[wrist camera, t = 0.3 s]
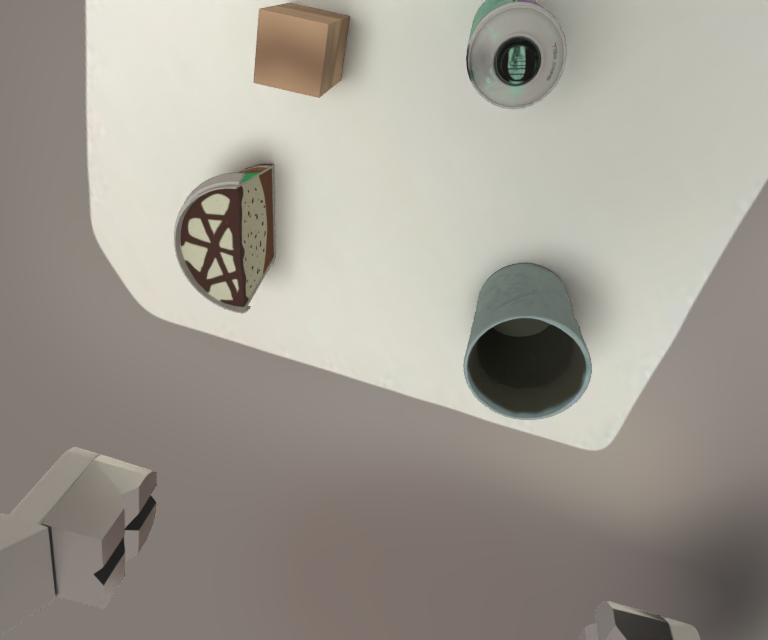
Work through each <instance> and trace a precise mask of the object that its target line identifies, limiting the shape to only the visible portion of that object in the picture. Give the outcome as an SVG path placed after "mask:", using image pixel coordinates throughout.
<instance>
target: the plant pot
mask: <svg viewBox="0 0 768 640" xmlns="http://www.w3.org/2000/svg"><path fill="white" fill-rule="evenodd" d="M591 373H592V364H591V358H590V355H589V352H588V349H587V347H586V344H585V341H584V339H583V337H582V334H581V331H580V327H579V325H578V324H577V321H576V319H575V318H574V316H573V309H572V305H571V301H570V299H569V296H568V293H567V291H566V288H565V286H564V284H563V283H562V281H561V280H560V279H559V278H558V277H557V276H556V275H555V274H554V273H552V272H551V271H549V270H548V269H546V268H544V267H541V266H538V265H534V264H528V263H522V264H514V265H510V266H507V267H505V268H502V269H500V270H499V271H497V272H496V273H494V274H493V275H492V276H491V277H490V278H489V279H488V280H487V281H486V282H485V284H484V285H483V287H482V289H481V291H480V294H479V297H478V302H477V307H476V312H475V315H474V322H473V325H472V328H471V335H470V338H469V342H468V346H467V350H466V354H465V358H464V374H465V378H466V382H467V384H468V387H469V388H470V390H471V391H472V393H473V395H474V396H475V397H476V398H477V399H478V400H479V401H480V402H481V403H482V404H484V405H485V406H487V407H488V408H489V409H491V410H492V411H494V412H496V413H498V414H501V415H503V416H506V417H510V418H514V419H521V420H536V419H543V418H547V417H551V416H554V415H556V414H559V413H561V412H563V411H565V410H566V409H568V408H569V407H571V406H572V405H573V404H574V403H576V402H577V401H578V400H579V399H580V398H581V396H582V395H583V393H584V392H585V390H586V389H587V387H588V384H589V382H590V378H591Z"/></svg>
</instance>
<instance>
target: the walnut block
mask: <svg viewBox="0 0 768 640" xmlns="http://www.w3.org/2000/svg"><path fill="white" fill-rule="evenodd" d="M349 19H350V16H347V15H342V14H338V13H333V12H329V11H324V10H320V9H315V8H311V7H306V6H302V5H298V4H293V3H286V4H281V5H276V6H271V7H266V8H261V9H259V18H258V31H257V44H256V57H255V70H254V83H257V84H261V85H266V86H270V87H274V88H279V89H283V90H288V91H292V92H296V93H301V94H305V95H309V96H314V97H318V98H319V97H321V96H322V95H323V94H324V93H326V92H327V91H328V90H329V89H331V88H332V87H333V86H334V85H336V84H337V83H338V82H339V81H341V75H342V68H343V61H344V54H345V47H346V40H347V33H348V26H349Z"/></svg>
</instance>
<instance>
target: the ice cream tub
mask: <svg viewBox="0 0 768 640" xmlns="http://www.w3.org/2000/svg"><path fill="white" fill-rule="evenodd" d="M174 247H175V252H176V257H177V260H178V262H179V265H180V267H181V269H182V271H183V273H184V275H185V276H186V278H187V279H188V281H189V282H190V284H191V285H192V286H193V287H194V288H195V289H196V290H197V291H198V292H199V293H200V294H201V295H202V296H204V297H205V298H206V299H208V300H209V301H211V302H212V303H214V304H215V305H218V306H220V307H222V308H224V309H226V310H229V311H232V312H236V313H241V314H243V313H245V312H247V311H248V310H249V309H250V306H248V304H249V303H250V301H251V299H252V297H253V296H254V294H255V292H256V290H257V289H258V287H259V285H260V283H261V282H262V280H263V278H264V277H265V275H266V273H267V271H268V270H269V268H270V266H271V264H272V263H273V261H274V259H275V257H276V245H275V193H274V164H260V165H257V166H253V167H249V168H246V169H245V170H243V171H241V172H239V173H230V174H223V175H219V176H216V177H213V178H210V179H209V180H207V181H205V182H203V183H201V184H200V185H199V186H198V187H196V188H195V189H194V190H193V191H192V192H191V194H190V195H189V196H188V197H187V199H186V201H185V202H184V204H183V206H182V208H181V210H180V212H179V214H178V217H177V220H176V223H175V230H174Z"/></svg>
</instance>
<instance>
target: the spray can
mask: <svg viewBox="0 0 768 640" xmlns="http://www.w3.org/2000/svg"><path fill="white" fill-rule="evenodd" d="M565 60H566V41H565V36H564V33H563V31H562V28H561V26H560V24H559V23H558V21H557V20H556V19H555V17H554V16H553V15H551V14H550V13H549V12H548V11H547V10H546V9H544V8H543V7H542V6H540V5H539V4H538V3H536V2H535V1H533V0H486V1H485V2H484V3H483V4H482V6H481V7H480V8H479V10H478V11H477V13H476V15H475V18H474V21H473V24H472V29H471V34H470V38H469V43H468V48H467V56H466V61H467V70H468V74H469V78H470V80H471V82H472V84H473V86H474V88H475V89H476V90H477V92H478V93H479V94H480V95H481V96H482V97H483V98H485V99H486V100H487V101H488V102H490V103H492V104H494V105H496V106H499V107H502V108H509V109H517V108H524V107H527V106H530V105H533V104H535V103H536V102H538V101H540V100H542V99H543V98H544V97H545V96H547V95H548V94H549V93H550V92H551V90H552V89H553V88H554V87H555V86H556V84H557V82H558V81H559V79H560V77H561V75H562V72H563V69H564V66H565Z"/></svg>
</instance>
